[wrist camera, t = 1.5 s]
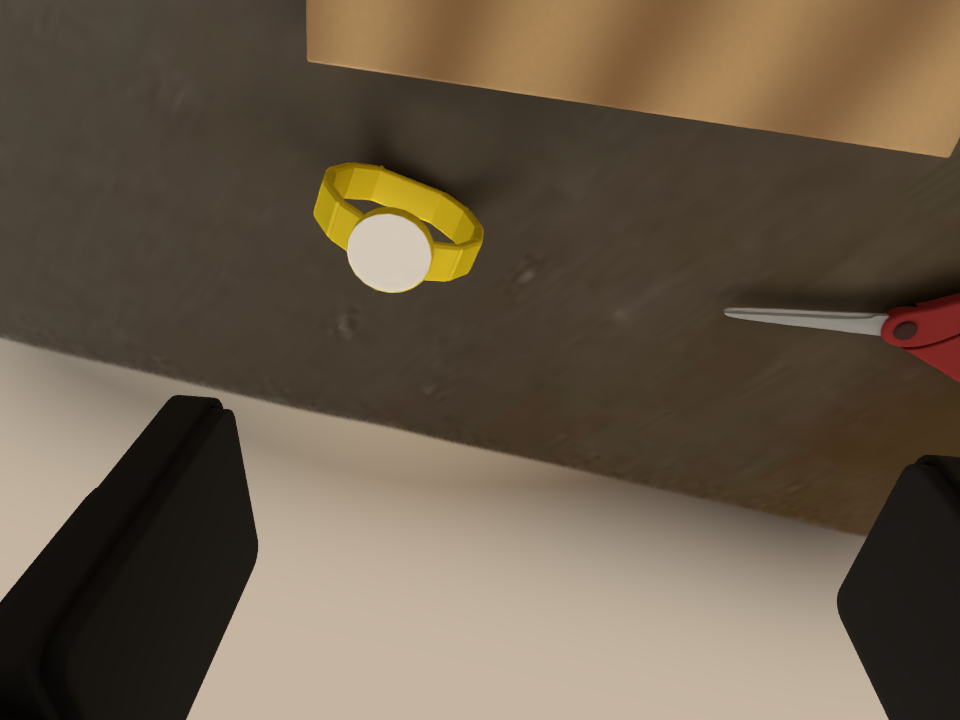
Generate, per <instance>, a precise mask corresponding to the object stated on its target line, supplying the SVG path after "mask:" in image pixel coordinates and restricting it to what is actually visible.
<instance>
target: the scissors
mask: <svg viewBox="0 0 960 720" xmlns="http://www.w3.org/2000/svg"><path fill="white" fill-rule="evenodd" d="M915 304H916V305H917V306H918V307H908V306H903V307H896V308H892V309H890V310H888V311H886V312H885V313H883V314H881V313H863V312H842V311H822V310H804V309H783V308H759V307H727V308H724V313H725V315H727V316H730V317H735V318H741V319H747V320H755V321H762V322H770V323H778V324H786V325H794V326H802V327H811V328H820V329H829V330H837V331H844V332H853V333H861V334H870V335H879V336H880V337H881V338H883V339H884V341H886V342H887V343H889V344H891V345H895V346H900V347H901V348H902V349H903V350H904V351H907V352H910V353H911V354H913V355H915V356H917V357H918V358H920V359H922V360H923V361H925V362H927V363H928V364H930V365H932V366H933V367H935V368H937V369H939V370H940V371H942V372H943V373H945V374H946V375H948V376H950V377H951V378H953V379H955V380H957V381H958V382H960V336H959V335H958V334H959V333H960V293H956V294H953V295H949V296H945V297H942V298H938V299H935V300H930V301H926V302H921V303H915Z"/></svg>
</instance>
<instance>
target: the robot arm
mask: <svg viewBox="0 0 960 720" xmlns="http://www.w3.org/2000/svg"><path fill="white" fill-rule="evenodd" d="M257 553H258V539H257V533H256V529H255V523H254V517H253V512H252V506H251V501H250V496H249V490H248V485H247V480H246V474H245V469H244V464H243V458H242V453H241V447H240V442H239V437H238V431H237V426H236V421H235V416H234V413H233V412H232V410H229V409H223V406H222V403H221V402H220V400H219V399H217V398H211V397H198V396H185V395H175V396H173V397H171V398H170V399H169V400H168V401H167V402H166V404H165V405H164V406H163V407H162V408H161V410H160V411H159V412H158V413H157V415H156V416H155V417H154V418H153V420H152V421H151V422H150V423H149V425H148V426H147V427H146V428H145V429H144V431H143V432H142V433H141V434H140V436H139V437H138V438H137V439H136V441H135V442H134V443H133V444H132V446H131V447H130V448H129V449H128V450H127V452H126V453H125V454H124V455H123V457H122V458H121V459H120V461H119V462H118V463H117V464H116V466H115V467H114V468H113V469H112V470H111V472H110V473H109V474H108V475H107V476H106V478H105V479H104V480H103V481H102V483H101V484H100V485H99V486H98V487H97V488H95V489H94V490H93V491H92V492H91V493H90V494H89V495H88V496H87V497H86V498H85V499H84V500H83V501H82V503H81V504H80V505H79V506H78V508H77V509H76V510H75V511H74V512H73V514H72V515H71V516H70V517H69V519H68V520H67V521H66V522H65V523H64V525H63V526H62V527H61V528H60V530H59V531H58V532H57V533H56V534H55V536H54V537H53V538H52V539H51V541H50V542H49V543H48V544H47V546H46V547H45V548H44V549H43V551H42V552H41V553H40V554H39V555H38V557H37V558H36V559H35V560H34V562H33V563H32V564H31V565H30V566H29V568H28V569H27V570H26V571H25V572H24V574H23V575H22V576H21V578H20V579H19V580H18V581H17V582H16V584H15V585H14V586H13V587H12V588H11V590H10V591H9V592H8V593H7V595H6V596H5V597H4V598H3V600H2V601H1V602H0V720H186V718H187V716H188V714H189V712H190V709H191V707H192V704H193V703H194V700H195V698H196V696H197V694H198V691H199V689H200V687H201V685H202V682H203V680H204V678H205V676H206V673H207V671H208V669H209V667H210V665H211V662H212V660H213V657H214V656H215V653H216V651H217V649H218V646H219V644H220V642H221V640H222V638H223V635H224V633H225V631H226V629H227V626H228V624H229V622H230V620H231V617H232V615H233V613H234V611H235V609H236V606H237V604H238V602H239V600H240V597H241V595H242V593H243V591H244V588H245V586H246V584H247V582H248V579H249V577H250V575H251V572H252V570H253V568H254V565H255V563H256V558H257ZM837 607H838V613H839V615H840V618H841V620H842V622H843V625H844V627H845V629H846V631H847V633H848V635H849V637H850V639H851V641H852V643H853V646H854V648H855V650H856V652H857V654H858V656H859V658H860V660H861V662H862V664H863V666H864V669H865V671H866V673H867V675H868V677H869V679H870V681H871V683H872V685H873V687H874V689H875V692H876V694H877V696H878V698H879V700H880V702H881V704H882V706H883V708H884V710H885V713H886V715H887V717H888V719H889V720H960V457H951V456H939V455H924V456H922V457H921V458H919V459H918V460H917V461H916V462H915V464H911V465H908V466H907V467H905V469H904V470H903V471H902V473H901V475H900V477H899V478H898V480H897V482H896V484H895V486H894V488H893V490H892V492H891V493H890V495H889V497H888V499H887V501H886V503H885V505H884V507H883V508H882V510H881V512H880V514H879V516H878V518H877V520H876V522H875V523H874V525H873V527H872V529H871V531H870V533H869V535H868V537H867V538H866V540H865V542H864V544H863V546H862V548H861V550H860V552H859V553H858V555H857V557H856V559H855V561H854V563H853V565H852V566H851V568H850V571H849V572H848V574H847V576H846V578H845V580H844V582H843V584H842V585H841V587H840V589H839V592H838V596H837Z"/></svg>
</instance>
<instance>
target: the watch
mask: <svg viewBox="0 0 960 720" xmlns="http://www.w3.org/2000/svg"><path fill="white" fill-rule="evenodd" d="M343 198H346V199H360V200H371V201H374V202H377V203H379V204H382V205H384V206H387V207H384V208H377V209H375V210H372V211H370V212H368V213H366V214H364V213H362V212H361V211H359V210H358V209H356V208H355V207H353V206H352V205H350V204H349V203H347V202H345V200H344V199H343ZM313 214H314V217H315V219H316V220H317V222H318V223H319V225H320V226H321V228H322V229H323V231H324V232H325V234H326V235H327V236H328V237H330V239H331V240H332V241H333V242H335V243H336V244H337V245H339V246H340V247H342V248H343V249H345V250H346V251H347V255H348V260H349V264H350V266H351V267H352V269H353V271H354V273H355V274H356V276H358V277H359V278H360V279H361V280H362V281H363V282H364V283H365V284H366V285H368V286H370V287H372V288H374V289H376V290H379V291H383V292H388V293H396V292H404V291H407V290H409V289H412V288H414V287H416V286H417V285H418V284H420V283H421V282H422V281H423V280H430V281H450V280H453V279H455V278H458V277H460V276H463V275H465V274H468V272H469V271H470V269H471V267H472V265H473V262H474V260H475V258H476V256H477V253H478V251H479V249H480V247H481V245H482V241H483V234H484V230H483V227H482V225H481V224H480V223H479V221H478V220H477V219H476V217H475V216H474V215H473V213H472V212H471V211H470V210H468V208H467V207H466V206H464V205H463V204H461V203H460V202H459V201H457V200H456V199H455V198H453V197H452V196H451V195H449V194H448V193H445V192H442V191H440V190H437V189H435V188H432V187H430V186H427V185H425V184H422V183H420V182H417V181H415V180H412V179H410V178H407V177H405V176H402V175H400V174H397V173H395V172H392V171H390V170H387V169H385V168H384V166H381V165H380V166H378V165H371V164H363V163H354V162H352V163H349V162H348V163H344V164H340V165H336V166H332V167H329V168H328V169H326V172H325V175H324V178H323V181H322V184H321V188H320V191H319V195H318V198H317V202H316V205H315V209H314V212H313ZM420 219H421V220H423V221H426V222H429V223H431V224H432V225H433V226H435V227H436V228H437V229H439V230H440V231H441V232H443V233H444V234H445V235H446V236H448V237H449V238H450V239H452V240H453V241H454V243H455V244H452V243H443V242H434V241H433V239H432V237H431V234H430V232H429V230H428V228H427V227H426V226H425V224H424V223H423V222H422V221H421V220H420Z"/></svg>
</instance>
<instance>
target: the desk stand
mask: <svg viewBox="0 0 960 720" xmlns="http://www.w3.org/2000/svg"><path fill="white" fill-rule="evenodd" d="M306 40H307V61H309V62H314V63H320V64H327V65H334V66H340V67H347V68H354V69H360V70H367V71H373V72H380V73H387V74H393V75H400V76H407V77H413V78H420V79H427V80H433V81H440V82H447V83H453V84H460V85H467V86H473V87H480V88H486V89H493V90H500V91H506V92H513V93H520V94H526V95H533V96H540V97H546V98H553V99H560V100H566V101H573V102H579V103H586V104H593V105H599V106H606V107H613V108H619V109H626V110H633V111H639V112H646V113H653V114H659V115H666V116H673V117H679V118H686V119H692V120H699V121H706V122H712V123H719V124H726V125H732V126H739V127H746V128H752V129H759V130H766V131H772V132H779V133H785V134H792V135H799V136H805V137H812V138H819V139H825V140H832V141H839V142H845V143H852V144H859V145H865V146H872V147H879V148H885V149H892V150H898V151H905V152H912V153H918V154H925V155H932V156H938V157H945V158H947V157H950V155H951V153H952V151H953V150H954V148H955V146H956V144H957V142H958V140H959V138H960V0H306Z"/></svg>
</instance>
